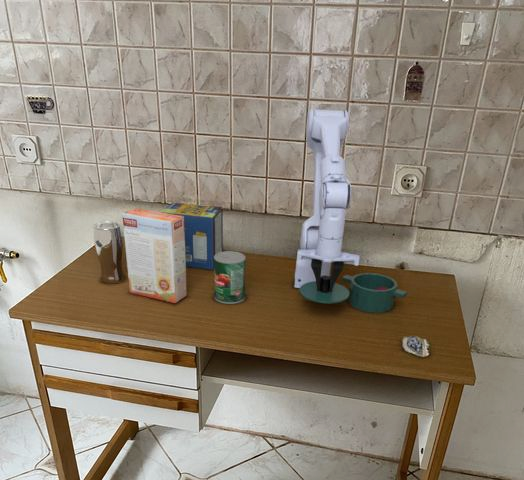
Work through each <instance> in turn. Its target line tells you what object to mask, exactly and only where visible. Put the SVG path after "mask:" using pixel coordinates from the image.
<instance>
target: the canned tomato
mask: <svg viewBox="0 0 524 480" xmlns="http://www.w3.org/2000/svg"><path fill="white" fill-rule="evenodd" d="M246 259H247V258H246V255H245V254H243V253H241V252H238V251H231V250H225V251H223V252H219V253H217V254H215V255H214V269H213V281H214V283H213V285H214V286H213V287H214V288H213V289H214V290H213V291H214V294H213V295H214V297H213V298H214V300H215V301H216V302H218V303H222V304H226V305H235V304H239V303H242V302H244V300H245V299H246V295H245V294H246V264H247V263H246Z"/></svg>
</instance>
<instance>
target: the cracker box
mask: <svg viewBox="0 0 524 480" xmlns="http://www.w3.org/2000/svg"><path fill="white" fill-rule="evenodd" d="M121 215H122V216H121V217H122V226H123V227H122V228H123V237H124V248H125V257H126V267H127V276H128V286H129V287H128V288H129V293H130V294H134V295H139V296H142V297H146V298H151V299H155V300H158V301H163V302H168V303H171V304H178V302H180V301H181V300H183V299H185V297H187V296H188V288H187V287H188V286H187V285H188V284H187V267H186V258H185V233H184V216H179V215H173V214H167V213H161V211H155V210H149V209H144V208H138V207H135V208H132V209H129V210H128V211H124V212H122V213H121Z"/></svg>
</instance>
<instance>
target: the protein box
mask: <svg viewBox="0 0 524 480" xmlns="http://www.w3.org/2000/svg"><path fill="white" fill-rule="evenodd" d="M223 211H224V210H223V207H222V206H216V205H215V206H213V205H203V204H194V203H193V204H192V203H181V202H172V203H170V204H169V205H168V206H166V207H165V208H164V209H162V210H161V211H160V212H161V213H167V214H173V215H179V216H184V233H185V258H186V268H194V269H203V270H210V271H214V255H215V254H217V253H219V252H224V240H223V239H224V236H223V235H224V234H223V233H224V232H223V229H224V226H223V225H224V224H223V223H224V222H223V221H224V218H223V217H224V216H223V215H224V214H223Z"/></svg>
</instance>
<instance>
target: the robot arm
mask: <svg viewBox="0 0 524 480" xmlns="http://www.w3.org/2000/svg"><path fill="white" fill-rule="evenodd" d="M349 125H350V114H349V112H348V110H347V109H343V110H335V109H314V108H310V109H309V110H308V111H307V116H306V131H305V132H306V136H305V142H306V146H307V147H308V148H309V149H311V150H312V153H313V158H314V162H313V163H314V166H313V190H312V191H313V194H312V195H313V196H312V199H313V200H312V215H311V216H309V218H307V219H306V220H304V221H303V222H302V225H301V231H300V241H299V243H300V244H299V245H300V249H299V248H298V249H297V253H296V255H297V256H296V262H295V263H296V264H295V272H294V286H293V287H294V288H295V289H300V287H301V286H302V285H303V284H305V283H308V282H313V281H316V284H317V290H319V291H320V282H321V276H330V277H331V283H330V289H329V292H332V290H333V286H334V284H335V283H336V282H337V279H338V278H339V276H340V275H341V273H342V272H343V270H344V267H345V264H349V265H353V266H357V267H358V266H359V265H360V264H359V263H360V257H361V256H360V254H353V253H349V252H344V251H342V248H343V238H344V233H345V223H346V215H347V210H349V207H350V205H351V201H352V184H351V182H350V179H349V178H347V168H346V161H345V159H344V158H343V157H342V156H340V154H341V149H342V148H343V145H344V144H345V140H346V137H347V135H348V131H349ZM332 264H333V265H332ZM331 268H332V270H331ZM331 271H332V272H331Z"/></svg>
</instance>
